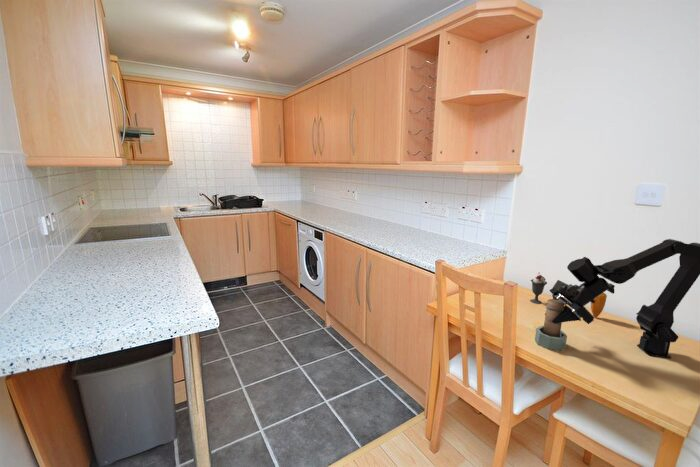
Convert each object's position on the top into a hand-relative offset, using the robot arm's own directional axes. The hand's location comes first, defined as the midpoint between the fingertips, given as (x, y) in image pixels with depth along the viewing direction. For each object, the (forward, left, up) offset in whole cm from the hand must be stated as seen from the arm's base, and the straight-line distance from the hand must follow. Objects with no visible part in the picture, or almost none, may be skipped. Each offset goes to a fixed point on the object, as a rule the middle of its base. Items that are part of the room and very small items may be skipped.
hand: (549, 318), depth 110 cm
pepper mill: (-1, 0, -7) cm, 7 cm away
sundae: (-9, -40, -10) cm, 42 cm away
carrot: (-28, -28, -10) cm, 41 cm away
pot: (-1, 0, -9) cm, 9 cm away
